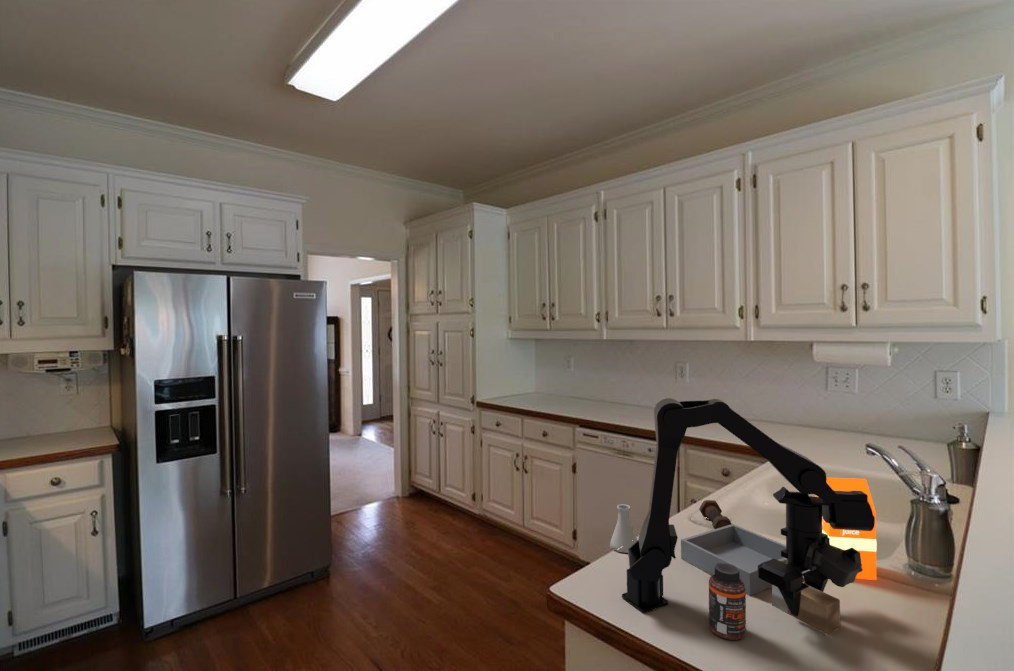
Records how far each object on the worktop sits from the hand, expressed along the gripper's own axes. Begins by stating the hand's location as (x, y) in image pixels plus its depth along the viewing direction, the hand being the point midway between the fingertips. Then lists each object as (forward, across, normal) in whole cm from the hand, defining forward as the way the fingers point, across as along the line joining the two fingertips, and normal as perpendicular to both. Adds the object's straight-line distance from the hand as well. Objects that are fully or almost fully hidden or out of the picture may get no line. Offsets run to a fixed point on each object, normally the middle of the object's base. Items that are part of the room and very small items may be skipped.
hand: (804, 610), depth 90 cm
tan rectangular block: (+1, 0, 0) cm, 1 cm away
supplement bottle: (+1, -16, +4) cm, 17 cm away
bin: (+1, +6, +18) cm, 19 cm away
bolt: (+2, +18, +34) cm, 39 cm away
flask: (+1, -10, +38) cm, 39 cm away
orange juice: (+1, +24, +6) cm, 25 cm away
